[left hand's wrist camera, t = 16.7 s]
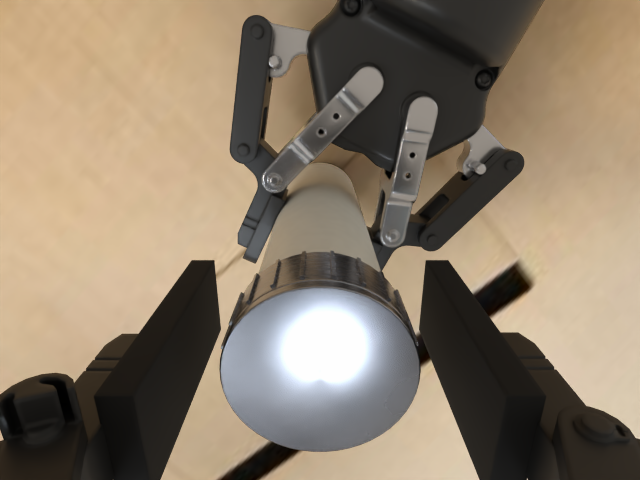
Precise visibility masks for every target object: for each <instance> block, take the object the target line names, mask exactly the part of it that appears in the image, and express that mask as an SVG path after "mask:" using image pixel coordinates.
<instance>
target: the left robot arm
mask: <svg viewBox="0 0 640 480" xmlns="http://www.w3.org/2000/svg"><path fill="white" fill-rule="evenodd" d="M220 330H221V326H220V315H219V305H218V295H217V284H216V274H215V264H214V260H192V261H191V262H190V264H189V265H188V266H187V268H186V269H185V271H184V272H183V273H182V275H181V276H180V277H179V279H178V280H177V282H176V283H175V284H174V286H173V287H172V289H171V290H170V291H169V293H168V294H167V295H166V297H165V298H164V300H163V301H162V302H161V304H160V305H159V306H158V308H157V309H156V311H155V312H154V313H153V315H152V316H151V317H150V319H149V320H148V322H147V323H146V324H145V326H144V327H143V329H142V330H141V331H140V333H139V334H121V335H120V336H118V337H117V338H115V339H114V340H112V341H111V342H109V343H108V344H106V345H105V346H104V347H103V349H102V350H101V351H100V352H99V354H98V355H97V356H96V357H95V360H93V361H92V362H91V363H90V365H89V366H88V367H87V368H86V371H84V372H83V373H82V374H81V376H80V377H79V378H78V379H77V380H76V382H75V383H74V382H73V379H72V378H70V377H69V376H68V375H65V374H59V373H50V374H41V375H38V376H35V377H31V378H28V379H25V380H23V381H21V382H19V383H17V384H15V385H13V386H11V387H10V388H8V389H7V390H6V391H4V392H3V393H2V394H0V430H1V433H2V436H3V439H4V440H2V441H0V480H160V479H161V477H162V474H163V472H164V469H165V467H166V464H167V462H168V459H169V457H170V454H171V452H172V449H173V447H174V445H175V442H176V440H177V437H178V435H179V432H180V430H181V427H182V425H183V422H184V420H185V417H186V415H187V412H188V410H189V407H190V405H191V402H192V400H193V397H194V395H195V392H196V390H197V387H198V385H199V383H200V380H201V378H202V375H203V373H204V370H205V368H206V365H207V363H208V360H209V358H210V355H211V353H212V350H213V348H214V345H215V343H216V340H217V338H218V335H219V333H220ZM419 330H420V333H421V335H422V338H423V340H424V343H425V345H426V348H427V350H428V353H429V355H430V358H431V360H432V363H433V365H434V368H435V370H436V373H437V375H438V378H439V380H440V383H441V385H442V387H443V390H444V392H445V395H446V397H447V400H448V402H449V405H450V407H451V410H452V412H453V415H454V417H455V420H456V422H457V425H458V427H459V430H460V432H461V435H462V437H463V440H464V442H465V445H466V447H467V449H468V452H469V454H470V457H471V459H472V462H473V464H474V467H475V469H476V472H477V474H478V477H479V479H480V480H527V478H528V480H640V439H637V438H635V437H634V435H633V434H632V432H631V431H630V429H629V428H628V427H626V426H625V425H624V424H623V423H622V422H621V421H619V420H618V419H617V418H615V417H613V416H611V415H609V414H607V413H606V412H604V411H601V410H598V409H595V408H592V407H589V406H586V405H585V404H584V403H583V402H582V400H581V399H580V398H579V397H578V395H577V394H576V393H575V392H574V391H573V389H572V388H571V387H570V386H569V385H568V383H567V382H566V381H565V380H564V378H563V377H562V376H561V375H560V374H559V372H558V371H557V370H554V366H553V365H552V364H551V363H550V362H549V360H548V359H545V355H544V354H543V353H542V352H541V351H540V349H539V348H538V347H537V346H536V345H535V343H533V342H532V341H530V340H529V339H527V338H526V337H524V336H522V335H521V334H519V333H500V331H499V330H498V329H497V327H496V326H495V324H494V323H493V322H492V320H491V319H490V317H489V316H488V315H487V313H486V312H485V311H484V309H483V308H482V306H481V305H480V304H479V302H478V301H477V300H476V298H475V297H474V295H473V294H472V293H471V291H470V290H469V289H468V287H467V286H466V284H465V283H464V282H463V280H462V279H461V277H460V276H459V275H458V273H457V272H456V271H455V269H454V268H453V266H452V265H451V264H450V262H449V261H448V260H426V264H425V274H424V284H423V295H422V305H421V315H420V325H419Z"/></svg>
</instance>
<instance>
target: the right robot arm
mask: <svg viewBox="0 0 640 480" xmlns="http://www.w3.org/2000/svg"><path fill="white" fill-rule="evenodd" d="M543 2H544V0H338V1H337V3H336V5H335V7H334V8H333V10H332V11H331V12H330V13H329V14H328V15H327V16H326V17H325V18H324V19H323V20H321V21H320V22H319V23H317V24H316V25H315V26H314V27H313V29H312V30H311V31H307V30H302V29H297V28H292V27H287V26H282V25H277V24H273V23H271V22H269V21H268V20H267V19H266V18H264V17H262V16H259V15H253V16H250V17H249V18H248V19H246V21H245V22H244V24H243V28H242V36H241V46H240V55H239V65H238V74H237V84H236V94H235V103H234V113H233V122H232V132H231V141H230V153H231V156H232V157H233V159H234V160H235V161H237V162H239V163H242V164H244V165H245V166H246V167H247V168H248V169H250V170H251V171H252V172H253V174H254V175H255V176H256V178H257V181H258V189H257V192H256V194H255V196H254V198H253V201H252V203H251V205H250V207H249V210H248V212H247V214H246V216H245V219H244V221H243V223H242V225H241V228H240V230H239V232H238V244H239V245H242V246H244V247H246V248H247V249H246V252H245V254H244V256H243V259H246V260H248V261H250V262H253V263H255V264H256V262H257V260H258V258H259V255H260V253H261V251H262V249H263V247H264V245H265V243H266V241H267V239H268V236H269V234H270V232H271V230H272V228H273V226H274V224H275V221H276V219H277V217H278V215H279V213H280V211H281V209H282V207H283V205H284V203H285V200H286V197H287V194H288V189H287V186H288V185H289V184H290V183H291V182H292V181H293V180H294V179H295V178H296V177H297V176H298V175H299V174H300V172H301V171H302V170H303V169H304V168H305V167H306V166H307V165H308V164H309V163H310V162H312V161H313V160H314V159H315V158H317V157H318V156H319V154H320V153H321V152H322V151H323V150H324V149H325V148H326V147H327V146H328V145H329V144H330V143H333V144H335V145H337V146H339V147H341V148H343V149H345V150H349V151H354V152H359V153H363V154H364V155H366V156H367V157H368V158H369V159H370V160H371V161H372V162H373V163H374V164H375V165H377V166H379V167H381V168H382V171H381V176H380V190H379V195H378V200H377V206H376V211H375V216H374V223H373V225H372V227H371V228H370V227H367V226H366V227H367V230H368V233H369V236H370V239H371V242H372V245H373V249H374V252H375V255H376V258H377V261H378V264H379V267H380V270H381V271H382V270H383V268H384V266H385V265H386V263H387V261H388V260H389V258H390V256H391V254H392V253H393V252H394V251H395V250H396V249H397V248H399V247H401V246H406V245H407V246H419V247H422V248H423V249H424V250H427V251H435V250H438V249H439V248H441V247H442V246H443V245H444V244H445V243H446V242H447V241H448V240H449V239H450V238H451V237H452V236H453V235H454V234H455V233H457V232H458V231H459V230H460V229H461V228H462V227H463V226H464V225H465V224H466V223H467V222H468V221H469V220H470V219H471V218H473V217H474V216H475V215H476V214H477V213H478V212H479V211H480V210H481V209H482V208H483V207H484V206H485V205H486V204H487V203H488V202H490V201H491V200H492V199H493V198H494V197H495V196H496V195H497V194H498V193H499V192H500V191H501V190H502V189H503V188H504V187H506V186H507V185H508V184H509V183H510V182H511V181H512V180H513V179H514V178H515V177H516V176H517V175H518V174H519V173H520V172H521V171H522V169H523V167H524V159H523V157H522V155H521V154H520V153H518V152H515V151H513V150H510V149H507V148H504V147H503V145H502V144H501V143H500V142H499V141H498V140H497V139H496V138H495V137H494V136H493V135H492V134H491V133H490V132H489V131H488V130H487V129H486V128H485V127H484V126H483V125H482V124H483V121H484V118H485V107H486V101H487V97H488V94H489V91H490V89H491V87H492V86H493V84H494V83H495V81H496V80H497V78H498V77H499V75H500V74H501V72H502V71H503V69H504V67H505V66H506V64H507V62H508V61H509V59H510V57H511V56H512V54H513V52H514V50H515V49H516V47H517V45H518V44H519V42H520V40H521V39H522V37H523V35H524V34H525V32H526V30H527V29H528V27H529V25H530V24H531V22H532V20H533V19H534V17H535V15H536V13H537V12H538V10H539V8H540V7H541V5H542V3H543ZM303 55H305V56H307V59H308V65H309V71H310V77H311V82H312V88H313V94H314V100H315V106H316V112H315V114H314V115H313V116H312V117H311V118H310V119H309V120H308V121H307V122H306V123H305V124H304V125H303V127H302V128H301V129H300V130H299V131H298V132H297V133H296V134H295V136H294V137H293V138H292V139H291V140H290V141H289V142H288V143H287V144H286V145H285V147H284V148H283V149H282V150H281V151H280V152H279V153H277V152H276V151H275V150H274V149H273V148H272V147H271V146H270V145H269V144H268V143H267V142H266V141H265V133H266V125H267V118H268V110H269V102H270V95H271V87H272V80H273V77H274V78H281V77H283V76H285V75H286V74H287V73H288V72H289V70H290V67H291V64H292V62H293V61H294V60H295V59H296V58H297V57H299V56H303ZM461 142H464V150H463V152H462V154H461V155H460V156H459V158H458V160H457V169H458V172H457V173H456V174H455V175H454V176H453V177H452V178H451V179H450V180H449V181H448V182H447V183H446V184H445V185H444V186H443V187H442V188H441V189H440V190H439V191H438V192H437V193H436V194H435V195H434V196H433V197H432V198H431V199H430V200H429V201H428V202H427V203H426V204H425V205H424V206H423V207H422V208H421V209H420V210H419V211H418V212H417V213H416V214H415V215H414V214H410V213H411V208H412V205H413V203H414V202H415V201H416V198H417V195H418V191H419V186H420V182H421V177H422V173H423V168H424V164H425V161H426V160H428V159H430V158H432V157H434V156H436V155H438V154H440V153H442V152H444V151H445V150H447V149H449V148H451V147H453V146H455V145H457V144H459V143H461ZM407 173H409V174H407Z"/></svg>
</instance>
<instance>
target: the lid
mask: <svg viewBox="0 0 640 480" xmlns="http://www.w3.org/2000/svg"><path fill="white" fill-rule="evenodd" d="M418 345H419V344H418V341H417V338H416V335H415V333H414V330H413V327H412V325H411V322H410V319H409V317H408V314H407V311H406V310H405V307H404V304H403V302H402V299H401V296H400V294H399V291H398V290H394V288H393V287H392V286H391V284H390V283H389V282H388V281H387V279H386V278H385V277H384V274H383V272H382V271H379V272H378V271H377V270H375V269H374V268H372V267H371V266H370V265H368V264H366V263H364V262H362V261H361V258H358V257H357V259H355V258H353V257H350V256H346V255H343V254H339V253H334V251H330V252H309V253H306V251H303V252H302V254H298V255H294V256H290V257H288V258H285V259H282V260H280V259H277V260H276V262H275V263H274V264H272V265H271V266H269V267H268V268H266V269H265V270H264V271H262V272H261V273H260V274H257V273H256V274H255V275H254V278H253V281H252V282H251V283H250V285H249V286H248V287H247V289H246V290H245V292H244V293H242V292H241V293H240V295H239V298H238V301H237V303H236V306H235V309H234V311H233V314H232V317H231V319H230V322H229V327H228V329H227V332H226V335H225V337H224V340H223V343H222V345H221V349H222V353H221V358H220V379H221V384H222V388H223V391H224V394H225V396H226V398H227V401H228V403H229V404H230V406H231V408H232V409H233V411H234V412H235V413H236V415H237V416H238V417H239V418H240V419H241V420H242V421H243V422H244V423H245V424H246V425H247V426H248V427H249V428H250V429H252V430H253V431H255V432H256V433H257V434H259V435H261V436H262V437H264V438H266V439H267V440H270V441H272V442H274V443H277V444H279V445H282V446H285V447H288V448H293V449H297V450H303V451H312V452H327V451H338V450H343V449H348V448H352V447H355V446H358V445H361V444H364V443H366V442H368V441H371V440H373V439H374V438H376V437H378V436H380V435H381V434H383V433H384V432H386V431H387V430H388V429H390V428H391V427H392V426H393V425H394V424H395V423H396V422H398V421H399V420H400V418H401V417H402V416H403V415H404V414H405V412H406V411H407V409H408V408H409V406H410V405H411V403H412V401H413V399H414V397H415V394H416V392H417V388H418V384H419V380H420V371H421V369H420V357H419V352H418V348H417V346H418Z"/></svg>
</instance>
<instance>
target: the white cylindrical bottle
mask: <svg viewBox="0 0 640 480" xmlns="http://www.w3.org/2000/svg"><path fill="white" fill-rule="evenodd" d="M287 189H288V194H287V197H286V200H285V203H284V205H283V207H282V209H281V211H280V213H279V215H278V217H277V219H276V221H275V224H274V227H273V230H272V234H271V237H270V240H269V243H268V246H267V249H266V252H265V255H264V258H263V261H262V265H261V268H260V271H259V274H260V273H261V272H262V271H264V270H265V269H266V268H268V267H269V266H271V265H272V264H274V263H275V262H276V260H277V259H280V260H282V259H285V258H288V257H290V256H294V255H298V254H302V252H303V251H306V253H309V252H330V251H334V253H339V254H343V255H346V256H350V257H353V258H355V259H357V257H358V258H361V261H362V262H364V263H366V264H368V265H370V266H371V267H372V268H374V269H375V270H377V271H378V272H379V271H381V270H380V267H379V264H378V261H377V258H376V255H375V252H374V249H373V245H372V242H371V239H370V236H369V233H368V230H367V227H366V224H365V221H364V218H363V214H362V211H361V208H360V205H359V202H358V199H357V196H356V193H355V190H354V187H353V184H352V182H351V180H350V178H349V177H348V176H347V174H346V173H345V172H344V171H343V170H341V169H340V168H338V167H336V166H334V165H331V164H328V163H312V164H309V165H307V166H306V167H305V168H304V169H303V170H302V171H301V172H300V174H299V175H298V176H297V177H296V178H295V179H294V180H293V181H292V182H291V183H290V184H289V185H288V186H287Z"/></svg>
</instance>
